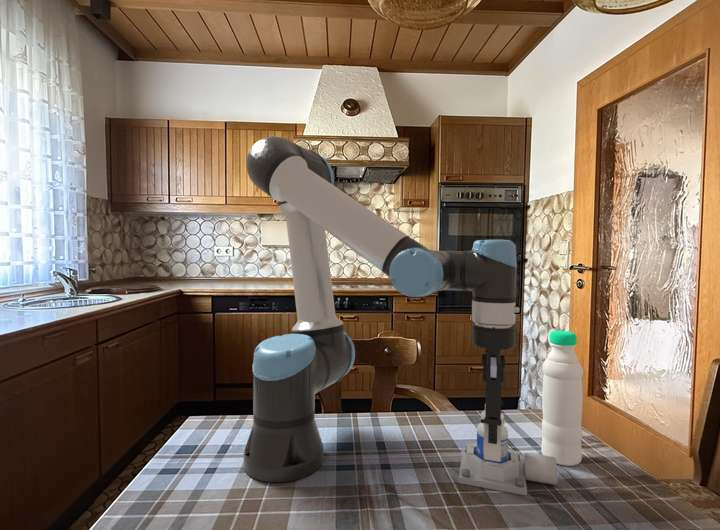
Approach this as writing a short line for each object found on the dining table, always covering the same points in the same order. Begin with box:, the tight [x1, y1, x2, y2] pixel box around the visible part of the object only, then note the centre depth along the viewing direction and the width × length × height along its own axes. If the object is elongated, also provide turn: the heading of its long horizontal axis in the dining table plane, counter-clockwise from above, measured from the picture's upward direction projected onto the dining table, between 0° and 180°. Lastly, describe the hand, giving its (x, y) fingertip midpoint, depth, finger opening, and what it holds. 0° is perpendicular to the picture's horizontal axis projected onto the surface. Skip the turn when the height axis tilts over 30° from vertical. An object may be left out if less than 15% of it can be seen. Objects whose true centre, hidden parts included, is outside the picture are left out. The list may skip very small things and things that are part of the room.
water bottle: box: [540, 330, 584, 467], centre depth 76 cm, size 7×7×25 cm
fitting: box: [458, 442, 558, 497], centre depth 70 cm, size 16×11×4 cm
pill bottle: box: [476, 410, 509, 464], centre depth 70 cm, size 6×5×10 cm
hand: (492, 448), depth 71 cm, fingers open, 7 cm apart
